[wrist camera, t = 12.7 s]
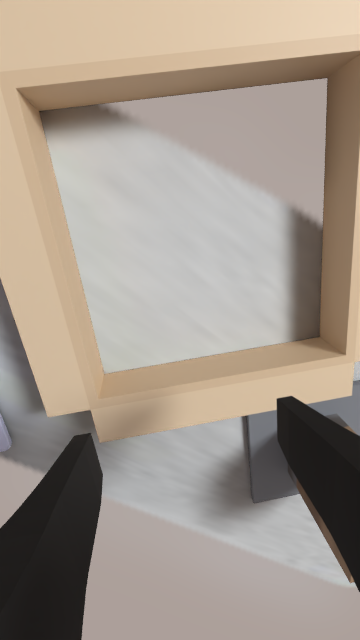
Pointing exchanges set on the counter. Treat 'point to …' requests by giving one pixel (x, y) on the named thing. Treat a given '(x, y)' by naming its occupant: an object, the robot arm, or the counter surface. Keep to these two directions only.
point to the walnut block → (316, 515)
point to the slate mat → (268, 455)
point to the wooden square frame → (151, 82)
